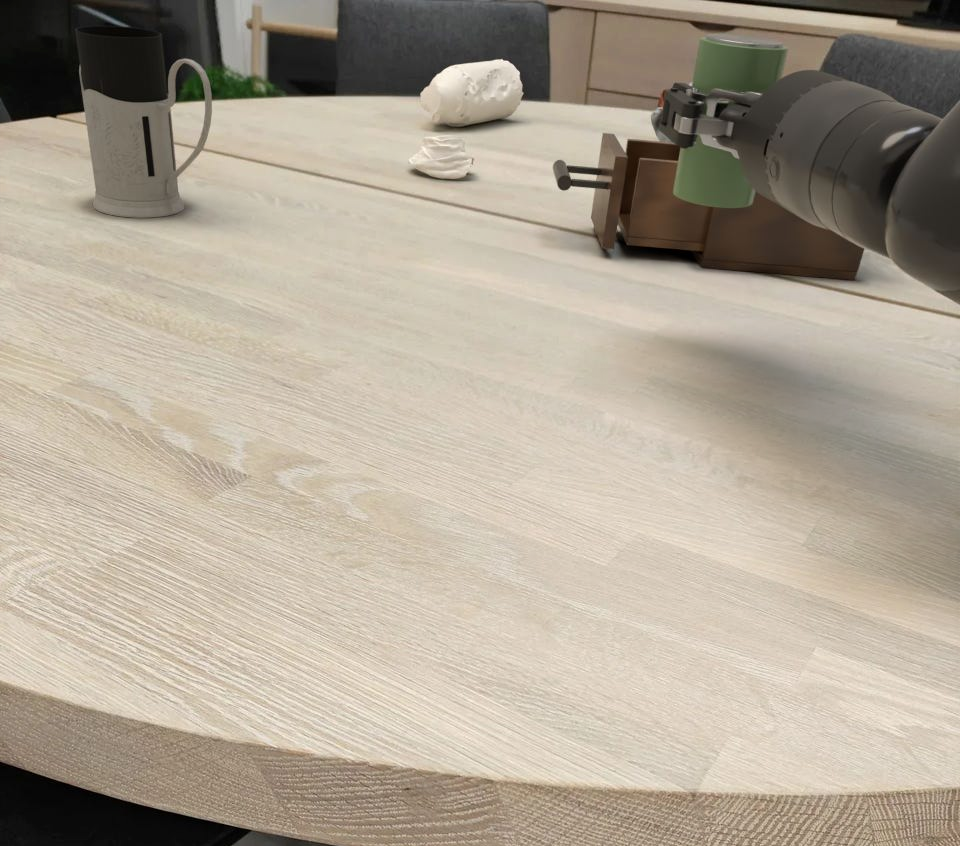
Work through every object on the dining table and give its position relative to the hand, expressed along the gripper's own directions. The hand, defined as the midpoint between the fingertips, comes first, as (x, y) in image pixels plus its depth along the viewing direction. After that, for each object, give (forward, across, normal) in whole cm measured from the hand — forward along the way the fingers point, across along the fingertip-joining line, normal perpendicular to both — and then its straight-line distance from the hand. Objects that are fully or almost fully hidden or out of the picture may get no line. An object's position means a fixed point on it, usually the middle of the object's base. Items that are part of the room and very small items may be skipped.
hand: (717, 101), depth 72 cm
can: (-2, 0, +6) cm, 6 cm away
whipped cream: (+54, +10, +17) cm, 57 cm away
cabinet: (+22, -19, +17) cm, 34 cm away
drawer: (+25, -6, +16) cm, 30 cm away
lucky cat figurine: (+55, -26, +17) cm, 63 cm away
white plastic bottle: (+86, -1, +17) cm, 88 cm away
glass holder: (+33, +42, +17) cm, 56 cm away
